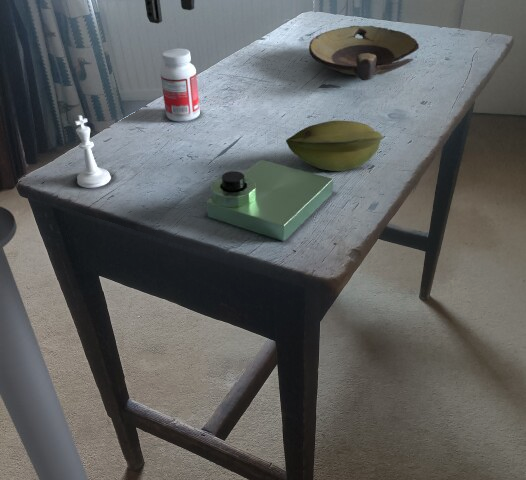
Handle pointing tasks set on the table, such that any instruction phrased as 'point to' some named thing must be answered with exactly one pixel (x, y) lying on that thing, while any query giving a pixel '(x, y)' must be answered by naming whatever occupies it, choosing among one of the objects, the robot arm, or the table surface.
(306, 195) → the scale
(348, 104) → the table surface
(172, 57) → the pill bottle
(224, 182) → the button
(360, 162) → the fruit
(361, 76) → the broken bowl
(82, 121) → the chess piece
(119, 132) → the table surface
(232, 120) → the table surface
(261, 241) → the table surface
